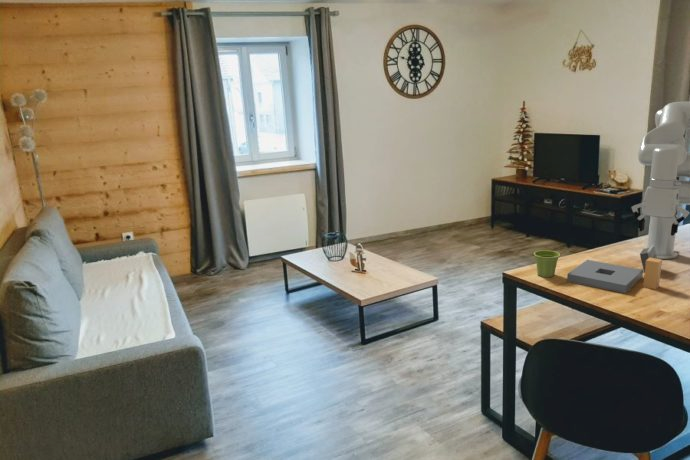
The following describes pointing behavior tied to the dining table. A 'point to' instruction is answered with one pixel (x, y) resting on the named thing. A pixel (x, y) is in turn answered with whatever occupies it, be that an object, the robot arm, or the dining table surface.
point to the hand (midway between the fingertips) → (656, 232)
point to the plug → (652, 273)
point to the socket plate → (605, 276)
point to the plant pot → (546, 262)
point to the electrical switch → (647, 255)
